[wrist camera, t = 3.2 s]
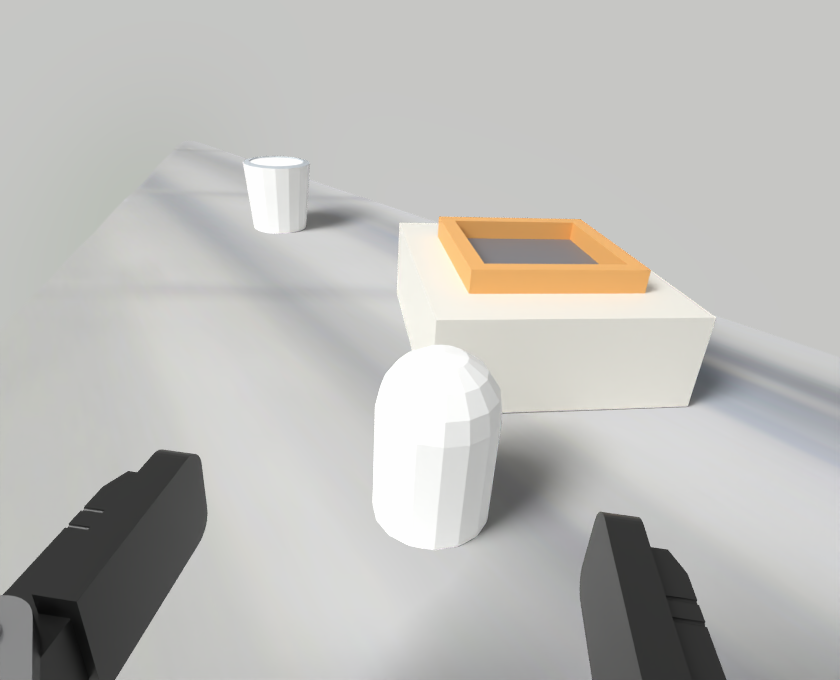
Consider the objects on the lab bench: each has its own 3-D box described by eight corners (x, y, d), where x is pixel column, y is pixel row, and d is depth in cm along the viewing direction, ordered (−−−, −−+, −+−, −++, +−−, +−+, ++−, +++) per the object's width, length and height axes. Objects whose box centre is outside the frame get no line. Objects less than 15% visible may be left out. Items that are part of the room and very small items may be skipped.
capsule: (470, 566, 23) (493, 402, 20) (352, 527, 25) (353, 367, 21) (500, 484, 28) (523, 338, 24) (399, 455, 29) (406, 313, 26)
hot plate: (564, 279, 53) (579, 199, 50) (687, 406, 35) (724, 293, 32) (393, 279, 51) (396, 194, 48) (429, 415, 33) (438, 293, 29)
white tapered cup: (234, 225, 63) (228, 159, 59) (281, 214, 68) (278, 152, 64) (278, 239, 59) (274, 170, 56) (324, 226, 64) (323, 162, 61)
